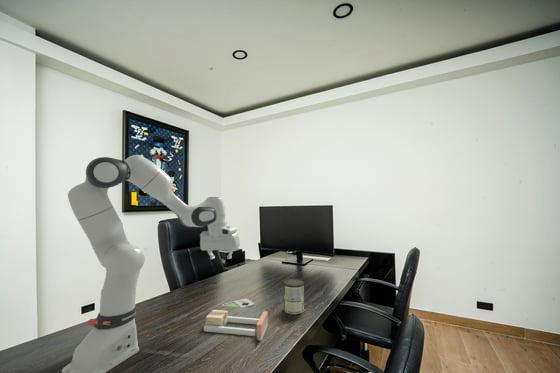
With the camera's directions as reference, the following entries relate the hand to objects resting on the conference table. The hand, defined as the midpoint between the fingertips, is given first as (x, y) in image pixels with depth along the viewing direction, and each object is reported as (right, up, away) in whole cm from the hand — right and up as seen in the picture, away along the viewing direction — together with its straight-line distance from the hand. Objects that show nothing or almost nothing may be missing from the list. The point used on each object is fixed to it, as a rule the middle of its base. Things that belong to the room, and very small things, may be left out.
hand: (221, 258), depth 114 cm
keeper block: (+1, -26, -10) cm, 28 cm away
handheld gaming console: (+6, -30, +13) cm, 33 cm away
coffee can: (+36, -29, +8) cm, 47 cm away
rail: (+9, -27, -12) cm, 31 cm away
